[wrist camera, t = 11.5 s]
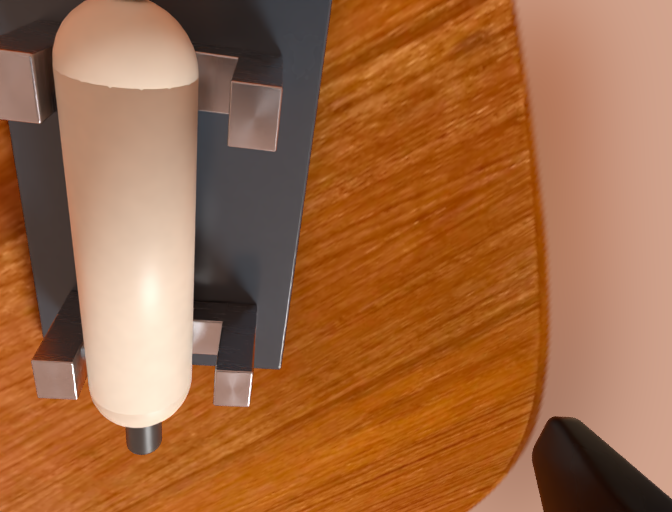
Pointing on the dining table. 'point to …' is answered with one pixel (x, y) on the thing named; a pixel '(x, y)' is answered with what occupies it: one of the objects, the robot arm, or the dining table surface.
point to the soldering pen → (131, 204)
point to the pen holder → (211, 178)
